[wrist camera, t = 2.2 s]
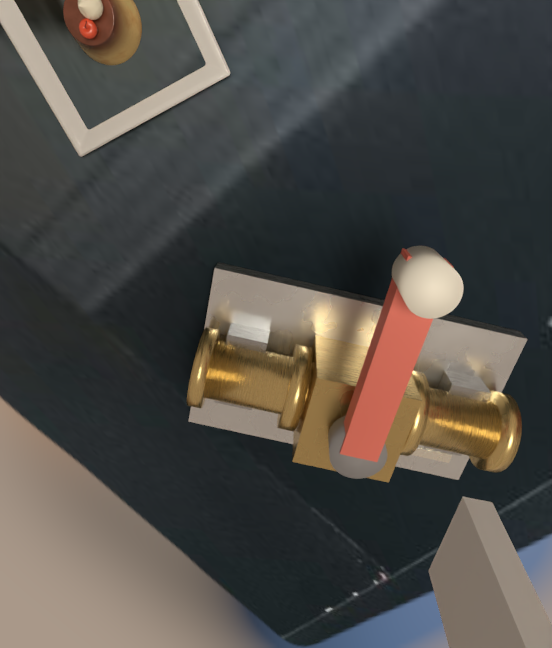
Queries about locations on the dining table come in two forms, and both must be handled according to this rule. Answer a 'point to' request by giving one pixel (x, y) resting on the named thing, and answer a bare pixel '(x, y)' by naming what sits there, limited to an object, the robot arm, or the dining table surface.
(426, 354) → the valve
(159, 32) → the dining table surface
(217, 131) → the dining table surface
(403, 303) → the lever
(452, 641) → the robot arm
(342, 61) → the dining table surface
